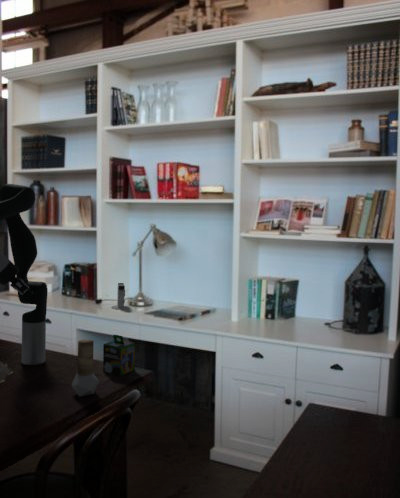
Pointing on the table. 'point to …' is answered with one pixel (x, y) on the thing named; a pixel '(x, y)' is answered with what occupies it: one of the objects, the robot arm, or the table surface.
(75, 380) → the die
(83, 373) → the oak cylinder
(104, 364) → the chalk box
